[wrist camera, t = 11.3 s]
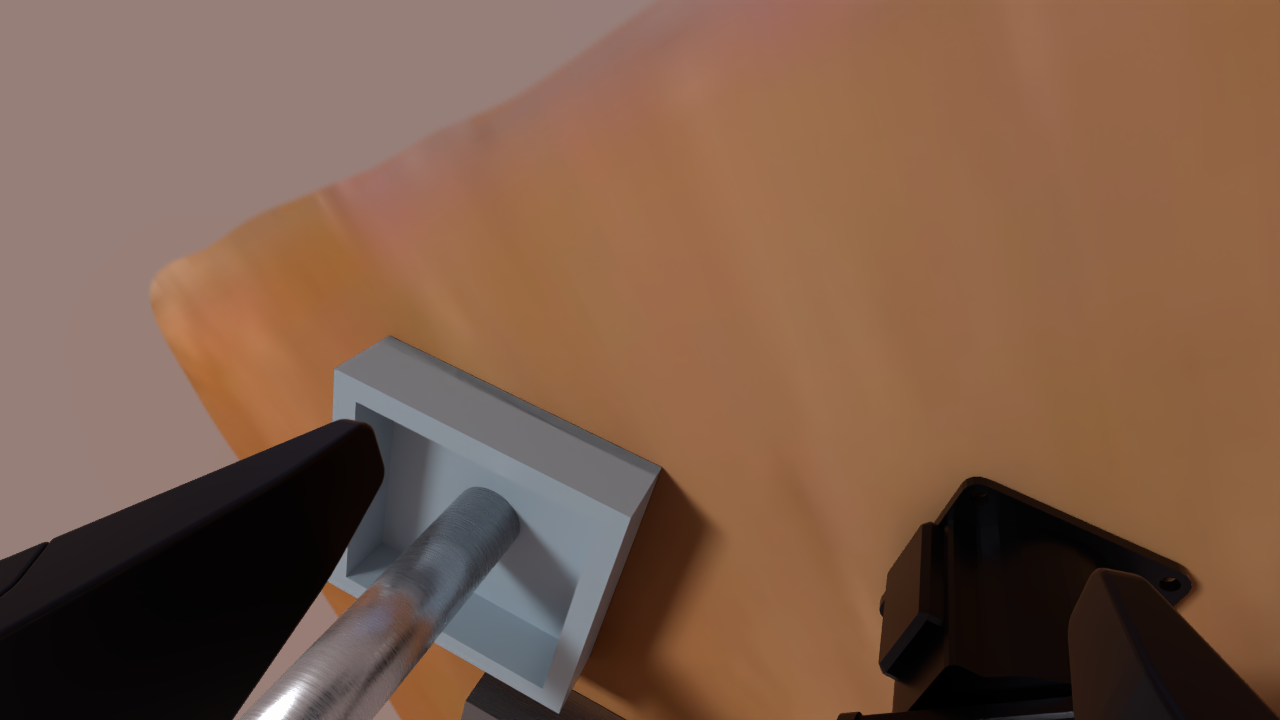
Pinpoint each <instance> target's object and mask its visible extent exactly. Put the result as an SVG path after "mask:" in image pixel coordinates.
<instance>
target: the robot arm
mask: <svg viewBox="0 0 1280 720" xmlns="http://www.w3.org/2000/svg"><path fill="white" fill-rule="evenodd" d="M384 475H385V466H384V462H383V459H382V455H381V452H380V448H379V445H378V442H377V438H376V435H375V432H374V429H373V428H372V427H371V426H370V424H368V423H365V422H361V421H356V420H350V419H339V420H336V421H334V422H332V423H329V424H327V425H324V426H322V427H320V428H317V429H315V430H312V431H310V432H308V433H305V434H303V435H300V436H298V437H296V438H293V439H291V440H288V441H286V442H284V443H281V444H279V445H276V446H274V447H272V448H269V449H267V450H264V451H262V452H260V453H257V454H255V455H252V456H250V457H248V458H245V459H243V460H240V461H238V462H236V463H233V464H231V465H229V466H226V467H224V468H221V469H219V470H217V471H214V472H212V473H209V474H207V475H205V476H202V477H200V478H197V479H195V480H192V481H190V482H188V483H185V484H183V485H180V486H178V487H176V488H173V489H171V490H169V491H166V492H164V493H161V494H159V495H156V496H154V497H152V498H149V499H147V500H144V501H142V502H140V503H137V504H135V505H132V506H130V507H128V508H125V509H123V510H121V511H118V512H116V513H114V514H111V515H109V516H106V517H104V518H101V519H99V520H96V521H95V522H92V523H89V524H87V525H84V526H82V527H80V528H78V529H75V530H72V531H70V532H68V533H65V534H63V535H60V536H58V537H56V538H54V539H52V540H51V541H50V543H49V542H44V543H41V544H38V545H36V546H34V547H31V548H29V549H26V550H24V551H22V552H20V553H17V554H15V555H12V556H10V557H7V558H5V559H2V560H0V720H233V719H234V717H235V716H236V714H237V713H238V711H239V710H240V708H241V707H242V705H243V704H244V703H245V701H246V700H247V698H248V697H249V695H250V694H251V692H252V691H253V689H254V688H255V687H256V685H257V684H258V682H259V681H260V679H261V678H262V676H263V675H264V673H265V672H266V671H267V669H268V667H269V666H270V665H271V663H272V662H273V660H274V659H275V657H276V656H277V654H278V653H279V652H280V650H281V649H282V647H283V646H284V644H285V643H286V641H287V640H288V638H289V637H290V636H291V634H292V633H293V631H294V630H295V628H296V627H297V625H298V624H299V622H300V621H301V619H302V618H303V617H304V615H305V614H306V612H307V611H308V609H309V608H310V606H311V605H312V603H313V602H314V601H315V599H316V598H317V596H318V595H319V593H320V592H321V590H322V589H323V587H324V586H325V584H326V583H327V581H328V580H329V578H330V576H331V575H332V573H333V571H334V570H335V568H336V566H337V565H338V563H339V561H340V559H341V558H342V556H343V554H344V552H345V550H346V548H347V547H348V545H349V543H350V541H351V539H352V538H353V536H354V534H355V532H356V530H357V529H358V527H359V525H360V523H361V521H362V520H363V518H364V516H365V514H366V512H367V510H368V509H369V507H370V505H371V503H372V501H373V500H374V498H375V496H376V494H377V492H378V491H379V489H380V487H381V485H382V483H383V479H384ZM975 491H981V492H984V493H985V494H986V495H985V496H984V497H979V498H978V497H974V496H973V495H971V493H973V492H975ZM1168 577H1171V578H1176V579H1175V580H1173V581H1170V582H1164V581H1160V580H1162V579H1164V578H1168ZM1190 589H1191V580H1190V578H1189V576H1188V573H1187V571H1186V570H1185V568H1184V567H1182V566H1181V565H1179V564H1178V563H1175V562H1173V561H1171V560H1169V559H1167V558H1164V557H1162V556H1160V555H1158V554H1155V553H1153V552H1151V551H1149V550H1146V549H1144V548H1142V547H1140V546H1137V545H1135V544H1133V543H1131V542H1128V541H1126V540H1124V539H1122V538H1119V537H1117V536H1115V535H1113V534H1110V533H1108V532H1106V531H1104V530H1101V529H1099V528H1097V527H1095V526H1092V525H1090V524H1088V523H1086V522H1083V521H1081V520H1079V519H1077V518H1074V517H1072V516H1070V515H1068V514H1065V513H1063V512H1061V511H1059V510H1056V509H1054V508H1052V507H1050V506H1047V505H1045V504H1043V503H1041V502H1038V501H1036V500H1034V499H1032V498H1029V497H1027V496H1025V495H1023V494H1020V493H1018V492H1016V491H1014V490H1012V489H1009V488H1007V487H1005V486H1003V485H1000V484H998V483H996V482H994V481H991V480H989V479H987V478H983V477H971V478H968V479H966V480H965V481H964V482H963V483H962V484H961V485H960V487H959V488H958V490H957V491H956V493H955V494H954V495H953V497H952V498H951V500H950V501H949V502H948V504H947V505H946V507H945V508H944V509H943V511H942V512H941V514H940V515H939V517H938V518H937V519H936V521H935V522H934V523H933V522H928V523H925V524H922V525H921V526H920V527H919V529H918V530H917V532H916V533H915V535H914V536H913V537H912V539H911V540H910V542H909V543H908V545H907V546H906V547H905V549H904V550H903V552H902V553H901V555H900V556H899V558H898V559H897V560H896V562H895V563H894V565H893V566H892V568H891V569H890V571H889V572H888V575H887V584H886V591H885V593H884V594H883V596H882V597H881V600H880V608H879V609H880V614H881V615H882V616H883V623H882V633H881V643H880V653H879V666H880V668H881V671H882V673H883V674H885V675H886V676H888V677H890V678H892V679H894V680H895V683H894V696H893V710H892V713H883V714H872V715H862V714H861V713H860V712H850V713H841V714H840V715H839V716H838V718H837V720H1280V718H1279V717H1278V716H1277V715H1276V714H1275V713H1274V711H1273V710H1272V709H1271V708H1270V707H1269V706H1268V705H1267V704H1266V703H1265V702H1264V701H1263V700H1262V699H1261V698H1260V697H1259V696H1258V695H1257V694H1256V693H1255V692H1254V691H1253V690H1252V689H1251V688H1250V687H1249V685H1248V684H1247V683H1246V682H1245V681H1244V680H1243V679H1242V678H1241V677H1240V676H1239V675H1238V674H1237V673H1236V672H1235V671H1234V670H1233V669H1232V668H1231V667H1230V666H1229V665H1228V664H1227V663H1226V662H1225V661H1224V660H1223V658H1222V657H1221V656H1220V655H1219V654H1218V653H1217V652H1216V651H1215V650H1214V649H1213V648H1212V647H1211V646H1210V645H1209V644H1208V643H1207V642H1206V641H1205V640H1204V639H1203V638H1202V637H1201V636H1200V635H1199V634H1198V632H1197V631H1196V630H1195V629H1194V628H1193V627H1192V626H1191V625H1190V624H1189V623H1188V622H1187V621H1186V620H1185V619H1184V618H1183V617H1182V616H1181V615H1180V614H1179V613H1178V612H1177V611H1176V610H1175V609H1174V608H1173V607H1174V606H1175V605H1176V604H1177V603H1178V602H1179V601H1180V600H1181V599H1182V598H1183V597H1184V596H1185V595H1186V594H1188V592H1189V591H1190Z"/></svg>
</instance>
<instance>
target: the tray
mask: <svg viewBox="0 0 1280 720" xmlns="http://www.w3.org/2000/svg"><path fill="white" fill-rule="evenodd" d="M339 419H350V420H356V421H361V422H365V423H368V424H370V426H371V427H372V428H373V429H374V432H375V435H376V438H377V442H378V445H379V448H380V452H381V455H382V459H383V462H384V466H385V475H384V479H383V483H382V485H381V487H380V489H379V491H378V492H377V494H376V496H375V498H374V500H373V501H372V503H371V505H370V507H369V509H368V510H367V512H366V514H365V516H364V518H363V520H362V521H361V523H360V525H359V527H358V529H357V530H356V532H355V534H354V536H353V538H352V539H351V541H350V543H349V545H348V547H347V548H346V550H345V552H344V554H343V556H342V558H341V559H340V561H339V563H338V565H337V566H336V568H335V570H334V571H333V573H332V575H331V576H330V578H329V580H328V582H330V583H331V584H333V585H335V586H337V587H338V588H340V589H342V590H344V591H345V592H347V593H349V594H351V595H352V596H354V597H356V598H359V597H360V596H361V595H362V594H363V593H364V592H365V591H366V590H367V589H368V588H369V587H370V586H371V585H372V584H373V582H374V581H375V580H376V579H377V578H378V577H379V576H380V575H381V574H382V573H383V572H384V571H385V570H386V569H387V568H388V567H389V566H390V565H391V564H392V563H393V562H394V561H395V560H396V559H397V558H398V557H399V556H400V555H401V554H402V553H403V552H404V551H405V550H406V549H407V548H408V547H409V546H410V545H411V544H412V543H413V542H414V541H415V540H416V539H417V538H418V537H419V536H420V535H421V534H422V533H423V532H424V531H425V530H426V529H427V528H428V527H429V526H430V525H431V524H432V523H433V522H434V521H435V520H436V519H437V518H438V517H439V516H440V515H441V514H442V512H443V511H444V510H445V509H446V508H447V507H448V506H449V505H450V504H451V503H452V502H453V501H454V500H455V499H456V498H457V497H458V496H459V495H460V494H461V493H462V492H463V491H464V490H466V489H468V488H471V487H483V488H487V489H490V490H492V491H494V492H496V493H498V494H499V495H501V496H502V497H503V498H504V499H505V500H507V501H508V502H509V504H510V505H511V506H512V507H513V509H514V510H515V512H516V514H517V516H518V519H519V523H520V533H519V536H518V538H517V539H516V540H515V541H514V543H513V544H512V545H511V546H510V548H509V549H508V550H507V551H506V553H505V554H504V555H503V556H502V558H501V559H500V560H499V561H498V563H497V564H496V565H495V567H494V568H493V569H492V570H491V572H490V573H489V574H488V575H487V577H486V578H485V579H484V580H483V582H482V583H481V584H480V585H479V587H478V588H477V589H476V590H475V592H474V593H473V594H472V595H471V597H470V598H469V599H468V600H467V602H466V603H465V604H464V605H463V607H462V608H461V609H460V610H459V612H458V613H457V614H456V615H455V617H454V618H453V619H452V620H451V622H450V623H449V624H448V625H447V627H446V628H445V629H444V630H443V632H442V633H441V634H440V635H439V637H438V638H437V639H436V640H435V642H434V643H436V644H438V645H439V646H441V647H443V648H445V649H446V650H448V651H450V652H452V653H453V654H455V655H457V656H459V657H460V658H462V659H464V660H466V661H467V662H469V663H471V664H473V665H474V666H476V667H478V668H480V669H481V670H483V671H485V672H487V673H488V674H490V675H492V676H494V677H495V678H497V679H499V680H501V681H502V682H504V683H506V684H508V685H509V686H511V687H513V688H514V689H516V690H518V691H520V692H521V693H523V694H525V695H527V696H528V697H530V698H532V699H534V700H535V701H537V702H539V703H541V704H542V705H544V706H546V707H548V708H549V709H551V710H553V711H555V712H556V713H558V714H559V713H560V711H561V709H562V707H563V705H564V703H565V702H566V700H567V698H568V696H569V694H570V692H571V691H572V689H573V687H574V685H575V683H576V681H577V679H578V678H579V676H580V674H581V672H582V670H583V668H584V667H585V665H586V663H587V661H588V659H589V657H590V654H591V652H592V649H593V646H594V644H595V641H596V639H597V636H598V633H599V631H600V628H601V625H602V623H603V620H604V618H605V615H606V612H607V610H608V607H609V604H610V602H611V599H612V597H613V594H614V591H615V589H616V586H617V583H618V581H619V578H620V576H621V573H622V570H623V568H624V565H625V562H626V560H627V557H628V555H629V552H630V549H631V547H632V544H633V541H634V539H635V536H636V534H637V531H638V528H639V526H640V523H641V520H642V518H643V515H644V513H645V510H646V507H647V505H648V502H649V499H650V497H651V494H652V492H653V489H654V486H655V484H656V481H657V478H658V476H659V473H660V471H661V468H662V467H660V466H658V465H656V464H654V463H652V462H649V461H647V460H645V459H643V458H641V457H639V456H637V455H635V454H633V453H631V452H629V451H627V450H625V449H623V448H621V447H618V446H616V445H614V444H612V443H610V442H608V441H606V440H604V439H602V438H600V437H598V436H596V435H594V434H592V433H590V432H587V431H585V430H583V429H581V428H579V427H577V426H575V425H573V424H571V423H569V422H567V421H565V420H563V419H561V418H559V417H556V416H554V415H552V414H550V413H548V412H546V411H544V410H542V409H540V408H538V407H536V406H534V405H532V404H530V403H528V402H526V401H523V400H521V399H519V398H517V397H515V396H513V395H511V394H509V393H507V392H505V391H503V390H501V389H499V388H497V387H495V386H492V385H490V384H488V383H486V382H484V381H482V380H480V379H478V378H476V377H474V376H472V375H470V374H468V373H466V372H464V371H461V370H459V369H457V368H455V367H453V366H451V365H449V364H447V363H445V362H443V361H441V360H439V359H437V358H435V357H433V356H431V355H428V354H426V353H424V352H422V351H420V350H418V349H416V348H414V347H412V346H410V345H408V344H406V343H404V342H402V341H400V340H397V339H395V338H393V337H391V336H388V337H386V338H384V339H383V340H381V341H379V342H378V343H376V344H374V345H373V346H371V347H369V348H368V349H366V350H364V351H363V352H361V353H359V354H358V355H356V356H354V357H353V358H351V359H349V360H348V361H346V362H344V363H343V364H341V365H339V366H338V367H336V368H334V393H333V422H334V421H336V420H339Z"/></svg>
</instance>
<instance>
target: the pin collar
mask: <svg viewBox="0 0 1280 720" xmlns="http://www.w3.org/2000/svg"><path fill="white" fill-rule="evenodd" d="M461 720H624V719H623V718H621V717H619V716H617V715H616V714H614V713H612V712H610V711H609V710H607V709H605V708H603V707H601V706H600V705H598V704H596V703H594V702H593V701H591V700H589V699H587V698H585V697H584V696H582V695H580V694H578V693H577V692H575V691H573V690H572V691H571V692H570V694H569V696H568V698H567V700H566V702H565V703H564V705H563V707H562V709H561V711H560V713H559V714H558V713H556V712H555V711H553V710H551V709H549V708H548V707H546V706H544V705H542V704H541V703H539V702H537V701H535V700H534V699H532V698H530V697H528V696H527V695H525V694H523V693H521V692H520V691H518V690H516V689H514V688H513V687H511V686H509V685H508V684H506V683H504V682H502V681H501V680H499V679H497V678H495V677H494V676H492V675H490V674H488V673H487V672H485V673H484V675H483V676H482V678H481V679H480V681H479V682H478V683H477V685H476V686H475V688H474V689H473V691H472V692H471V694H470V695H469V697H468V698H467V699H466V701H465V706H464V710H463V714H462V719H461Z"/></svg>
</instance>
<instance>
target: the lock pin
mask: <svg viewBox="0 0 1280 720" xmlns="http://www.w3.org/2000/svg"><path fill="white" fill-rule="evenodd" d="M519 533H520V523H519V519H518V516H517V514H516V512H515V510H514V509H513V507H512V506H511V505H510V504H509V502H508V501H507V500H505V499H504V498H503V497H502V496H501V495H499V494H498V493H496V492H494V491H492V490H490V489H487V488H483V487H471V488H468V489H466V490H464V491H463V492H462V493H461V494H460V495H459V496H458V497H457V498H456V499H455V500H454V501H453V502H452V503H451V504H450V505H449V506H448V507H447V508H446V509H445V510H444V511H443V512H442V514H441V515H440V516H439V517H438V518H437V519H436V520H435V521H434V522H433V523H432V524H431V525H430V526H429V527H428V528H427V529H426V530H425V531H424V532H423V533H422V534H421V535H420V536H419V537H418V538H417V539H416V540H415V541H414V542H413V543H412V544H411V545H410V546H409V547H408V548H407V549H406V550H405V551H404V552H403V553H402V554H401V555H400V556H399V557H398V558H397V559H396V560H395V561H394V562H393V563H392V564H391V565H390V566H389V567H388V568H387V569H386V570H385V571H384V572H383V573H382V574H381V575H380V576H379V577H378V578H377V579H376V580H375V581H374V582H373V584H372V585H371V586H370V587H369V588H368V589H367V590H366V591H365V592H364V593H363V594H362V595H361V596H360V597H359V598H358V599H357V600H356V601H355V602H354V603H353V604H352V605H351V606H350V607H349V608H348V609H347V610H346V611H345V612H344V613H343V614H342V615H341V616H340V617H339V618H338V619H337V620H336V621H335V622H334V623H333V624H332V625H331V626H330V627H329V628H328V629H327V630H326V631H325V632H324V633H323V634H322V635H321V637H319V638H318V639H317V641H315V642H314V643H313V644H312V646H310V648H309V649H307V650H306V651H305V653H304V654H303V655H302V656H301V657H300V658H299V659H298V660H297V661H296V662H295V663H294V664H293V665H292V666H291V667H290V668H289V669H288V670H287V671H286V672H285V673H284V674H283V675H282V676H281V677H280V678H279V679H278V680H277V681H276V682H275V683H274V684H273V685H272V686H271V687H270V688H269V689H268V690H267V691H266V692H265V693H264V694H263V695H262V696H261V697H260V698H259V699H258V700H257V701H256V702H255V703H254V704H253V705H252V706H251V707H250V708H249V709H248V710H247V711H246V712H245V713H244V714H243V715H242V716H241V718H239V719H238V720H372V719H373V718H374V717H375V715H376V714H377V713H378V712H379V710H380V709H381V708H382V707H383V705H384V704H385V703H386V702H387V700H388V699H389V698H390V697H391V695H392V694H393V693H394V692H395V690H396V689H397V688H398V687H399V685H400V684H401V683H402V682H403V680H404V679H405V678H406V677H407V675H408V674H409V673H410V672H411V670H412V669H413V668H414V667H415V665H416V664H417V663H418V662H419V660H420V659H421V658H422V657H423V655H424V654H425V653H426V652H427V650H428V649H429V648H430V647H431V645H432V644H433V643H434V642H435V640H436V639H437V638H438V637H439V635H440V634H441V633H442V632H443V630H444V629H445V628H446V627H447V625H448V624H449V623H450V622H451V620H452V619H453V618H454V617H455V615H456V614H457V613H458V612H459V610H460V609H461V608H462V607H463V605H464V604H465V603H466V602H467V600H468V599H469V598H470V597H471V595H472V594H473V593H474V592H475V590H476V589H477V588H478V587H479V585H480V584H481V583H482V582H483V580H484V579H485V578H486V577H487V575H488V574H489V573H490V572H491V570H492V569H493V568H494V567H495V565H496V564H497V563H498V561H499V560H500V559H501V558H502V556H503V555H504V554H505V553H506V551H507V550H508V549H509V548H510V546H511V545H512V544H513V543H514V541H515V540H516V539H517V538H518V536H519Z"/></svg>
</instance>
